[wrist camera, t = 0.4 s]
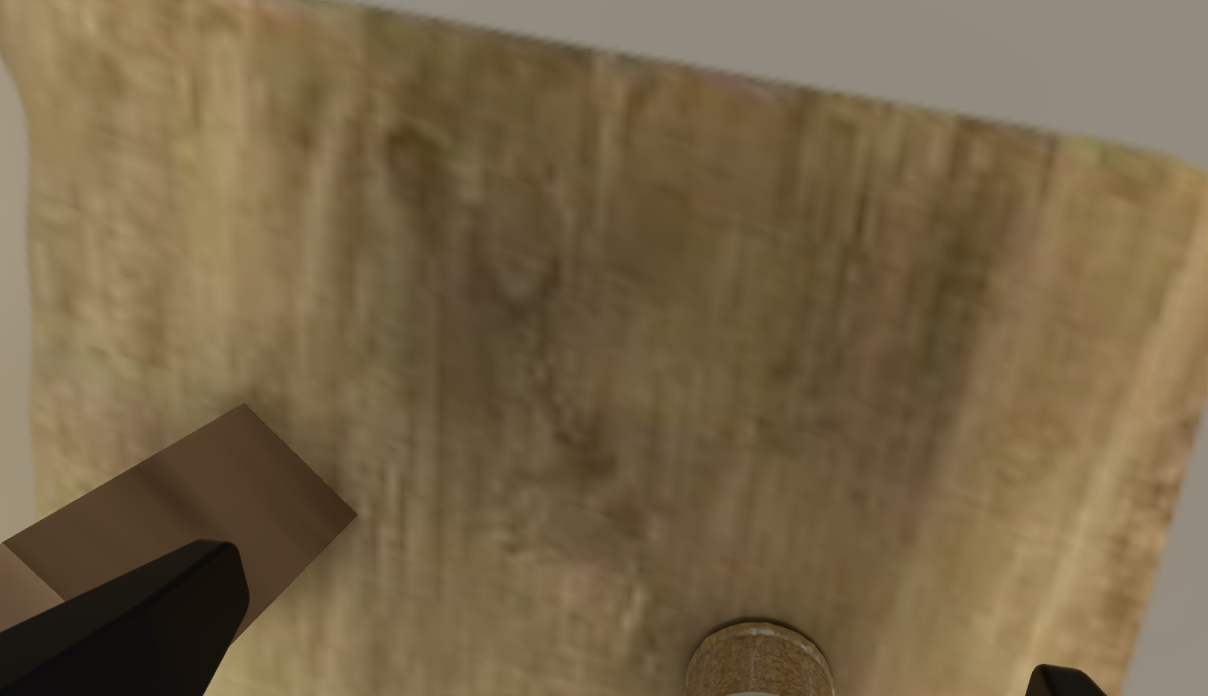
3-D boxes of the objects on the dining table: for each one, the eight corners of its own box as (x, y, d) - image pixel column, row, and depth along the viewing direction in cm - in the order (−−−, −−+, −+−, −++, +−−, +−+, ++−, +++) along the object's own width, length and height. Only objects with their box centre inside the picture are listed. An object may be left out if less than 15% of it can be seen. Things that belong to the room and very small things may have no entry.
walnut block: (266, 600, 28) (58, 811, 20) (158, 496, 28) (-103, 666, 19) (357, 514, 27) (174, 702, 18) (244, 403, 26) (2, 542, 18)
